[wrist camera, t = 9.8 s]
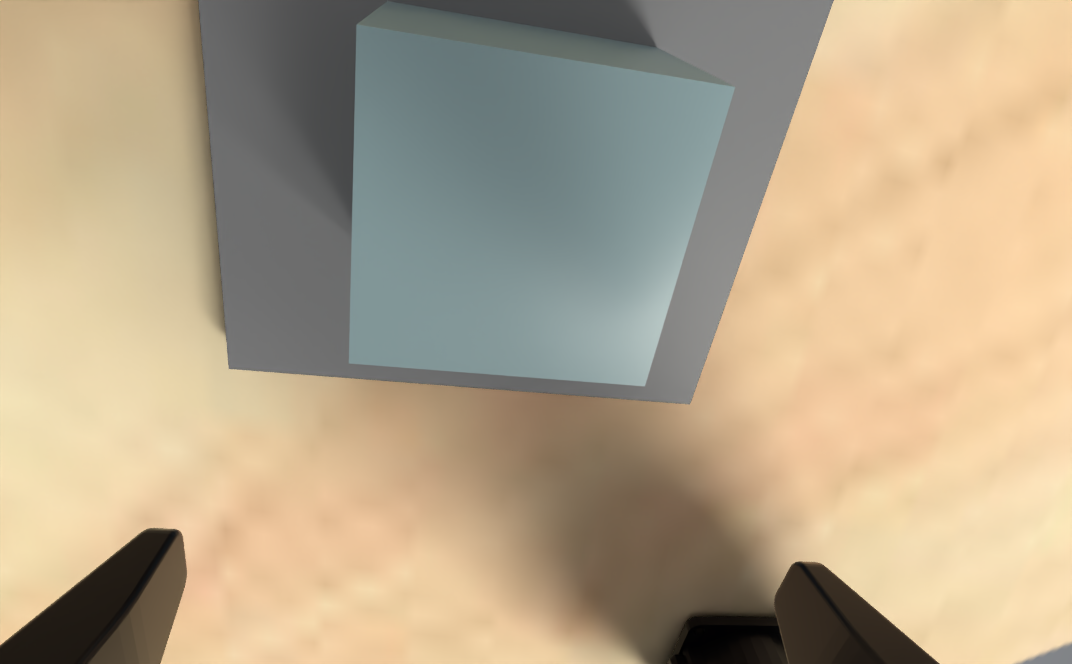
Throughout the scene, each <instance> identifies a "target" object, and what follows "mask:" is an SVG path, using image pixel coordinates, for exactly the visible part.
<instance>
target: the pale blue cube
mask: <svg viewBox="0 0 1072 664" xmlns="http://www.w3.org/2000/svg"><path fill="white" fill-rule="evenodd" d="M734 89H735V87H734V86H732V85H730V84H728V83H726V82H725V81H723V80H721V79H719V78H717V77H715V76H713V75H711V74H709V73H707V72H705V71H703V70H701V69H699V68H697V67H695V66H693V65H691V64H689V63H687V62H685V61H683V60H681V59H679V58H677V57H675V56H673V55H671V54H669V53H667V52H665V51H663V50H661V49H659V48H657V47H651V46H646V45H640V44H634V43H628V42H622V41H617V40H611V39H605V38H599V37H593V36H588V35H582V34H576V33H570V32H564V31H559V30H553V29H547V28H541V27H535V26H530V25H524V24H518V23H512V22H506V21H501V20H495V19H489V18H483V17H477V16H472V15H466V14H460V13H454V12H448V11H443V10H437V9H431V8H425V7H419V6H414V5H408V4H402V3H396V2H390V1H387V2H386V3H384V4H383V5H382V6H380V7H379V8H378V9H376V10H375V11H374V12H372V13H371V14H370V15H368V16H367V17H366V18H364V19H363V20H362V21H360V22H359V23H358V24H357V26H356V70H355V114H354V158H353V202H352V245H351V289H350V333H349V363H350V364H363V365H376V366H389V367H402V368H414V369H427V370H440V371H453V372H466V373H479V374H492V375H505V376H518V377H530V378H543V379H556V380H569V381H582V382H595V383H608V384H621V385H633V386H645V384H646V381H647V378H648V374H649V371H650V368H651V364H652V361H653V358H654V354H655V351H656V348H657V344H658V341H659V338H660V335H661V331H662V328H663V325H664V321H665V318H666V315H667V311H668V308H669V305H670V301H671V298H672V295H673V292H674V288H675V285H676V282H677V278H678V275H679V272H680V268H681V265H682V262H683V258H684V255H685V252H686V248H687V245H688V242H689V239H690V235H691V232H692V229H693V225H694V222H695V219H696V215H697V212H698V209H699V205H700V202H701V199H702V195H703V192H704V189H705V186H706V182H707V179H708V176H709V172H710V169H711V166H712V162H713V159H714V156H715V152H716V149H717V146H718V142H719V139H720V136H721V133H722V129H723V126H724V123H725V119H726V116H727V113H728V109H729V106H730V103H731V99H732V96H733V93H734Z"/></svg>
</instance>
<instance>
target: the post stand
mask: <svg viewBox="0 0 1072 664" xmlns="http://www.w3.org/2000/svg"><path fill="white" fill-rule="evenodd" d="M387 1H390V2H396V3H402V4H408V5H414V6H419V7H425V8H431V9H437V10H443V11H448V12H454V13H460V14H466V15H472V16H477V17H483V18H489V19H495V20H501V21H506V22H512V23H518V24H524V25H530V26H535V27H541V28H547V29H553V30H559V31H564V32H570V33H576V34H582V35H588V36H593V37H599V38H605V39H611V40H617V41H622V42H628V43H634V44H640V45H646V46H651V47H657V48H659V49H661V50H663V51H665V52H667V53H669V54H671V55H673V56H675V57H677V58H679V59H681V60H683V61H685V62H687V63H689V64H691V65H693V66H695V67H697V68H699V69H701V70H703V71H705V72H707V73H709V74H711V75H713V76H715V77H717V78H719V79H721V80H723V81H725V82H726V83H728V84H730V85H732V86H734V87H735V89H734V93H733V96H732V99H731V103H730V106H729V109H728V113H727V116H726V119H725V123H724V126H723V129H722V133H721V136H720V139H719V142H718V146H717V149H716V152H715V156H714V159H713V162H712V166H711V169H710V172H709V176H708V179H707V182H706V186H705V189H704V192H703V195H702V199H701V202H700V205H699V209H698V212H697V215H696V219H695V222H694V225H693V229H692V232H691V235H690V239H689V242H688V245H687V248H686V252H685V255H684V258H683V262H682V265H681V268H680V272H679V275H678V278H677V282H676V285H675V288H674V292H673V295H672V298H671V301H670V305H669V308H668V311H667V315H666V318H665V321H664V325H663V328H662V331H661V335H660V338H659V341H658V344H657V348H656V351H655V354H654V358H653V361H652V364H651V368H650V371H649V374H648V378H647V381H646V384H645V386H633V385H621V384H608V383H595V382H582V381H569V380H556V379H543V378H530V377H518V376H505V375H492V374H479V373H466V372H453V371H440V370H427V369H414V368H402V367H389V366H376V365H363V364H350V363H349V333H350V289H351V245H352V202H353V158H354V114H355V70H356V26H357V24H358V23H359V22H360V21H362V20H363V19H364V18H366V17H367V16H368V15H370V14H371V13H372V12H374V11H375V10H376V9H378V8H379V7H380V6H382V5H383V4H384V3H386V2H387ZM833 1H834V0H198V2H199V15H200V27H201V39H202V51H203V63H204V75H205V87H206V99H207V111H208V123H209V135H210V147H211V159H212V171H213V184H214V196H215V208H216V220H217V232H218V244H219V256H220V268H221V280H222V292H223V304H224V316H225V328H226V341H227V353H228V365H229V369H239V370H251V371H264V372H277V373H290V374H303V375H316V376H329V377H342V378H355V379H368V380H381V381H394V382H407V383H420V384H433V385H446V386H459V387H472V388H485V389H498V390H511V391H524V392H537V393H550V394H563V395H576V396H589V397H602V398H614V399H627V400H640V401H653V402H666V403H679V404H690V403H691V400H692V397H693V395H694V392H695V389H696V386H697V383H698V381H699V378H700V375H701V372H702V369H703V366H704V364H705V361H706V358H707V355H708V352H709V350H710V347H711V344H712V341H713V338H714V336H715V333H716V330H717V327H718V324H719V321H720V319H721V316H722V313H723V310H724V307H725V305H726V302H727V299H728V296H729V293H730V291H731V288H732V285H733V282H734V279H735V276H736V274H737V271H738V268H739V265H740V262H741V260H742V257H743V254H744V251H745V248H746V245H747V243H748V240H749V237H750V234H751V231H752V229H753V226H754V223H755V220H756V217H757V215H758V212H759V209H760V206H761V203H762V200H763V198H764V195H765V192H766V189H767V186H768V184H769V181H770V178H771V175H772V172H773V170H774V167H775V164H776V161H777V158H778V155H779V153H780V150H781V147H782V144H783V141H784V139H785V136H786V133H787V130H788V127H789V124H790V122H791V119H792V116H793V113H794V110H795V108H796V105H797V102H798V99H799V96H800V94H801V91H802V88H803V85H804V82H805V79H806V77H807V74H808V71H809V68H810V65H811V63H812V60H813V57H814V54H815V51H816V49H817V46H818V43H819V40H820V37H821V34H822V32H823V29H824V26H825V23H826V20H827V18H828V15H829V12H830V9H831V6H832V3H833Z"/></svg>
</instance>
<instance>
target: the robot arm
mask: <svg viewBox="0 0 1072 664" xmlns="http://www.w3.org/2000/svg"><path fill="white" fill-rule="evenodd" d="M186 577H187V567H186V559H185V551H184V542H183V536H182V533H181V532H180V531H179V530H176V529H163V528H149V529H146V530H144V531H143V532H141V533H140V534H139V535H137V536H136V537H135V538H134V539H132V540H131V541H130V542H129V543H127V544H126V545H125V546H124V547H122V548H121V549H120V550H119V551H117V552H116V553H115V554H114V555H112V556H111V557H110V558H109V559H107V560H106V561H105V562H104V563H102V564H101V565H100V566H99V567H97V568H96V569H95V570H94V571H92V572H91V573H90V574H89V575H87V576H86V577H85V578H84V579H82V580H81V581H80V582H79V583H77V584H76V585H75V586H74V587H72V588H71V589H70V590H69V591H67V592H66V593H65V594H64V595H62V596H61V597H60V598H59V599H57V600H56V601H55V602H54V603H52V604H51V605H50V606H49V607H47V608H46V609H45V610H44V611H42V612H41V613H40V614H39V615H37V616H36V617H35V618H34V619H32V620H31V621H30V622H29V623H27V624H26V625H25V626H24V627H22V628H21V629H20V630H19V631H17V632H16V633H15V634H14V635H12V636H11V637H10V638H9V639H7V640H6V641H5V642H4V643H2V644H1V645H0V664H160V663H161V660H162V657H163V654H164V650H165V647H166V644H167V641H168V638H169V635H170V632H171V629H172V625H173V622H174V619H175V616H176V613H177V610H178V607H179V604H180V600H181V597H182V594H183V591H184V588H185V583H186ZM774 607H775V613H776V617H777V618H762V617H702V616H699V617H694V618H691V619H689V620H688V621H687V622H686V623H685V626H684V628H683V630H682V632H681V635H680V637H679V639H678V641H677V644H676V646H675V648H674V650H673V653H672V655H671V657H670V658H669V660H668V663H667V664H939V663H938V662H937V661H936V660H935V659H933V658H932V657H931V656H930V655H929V654H927V653H926V652H925V651H924V650H923V649H922V648H920V647H919V646H918V645H917V644H916V643H915V642H913V641H912V640H911V639H910V638H909V637H908V636H906V635H905V634H904V633H903V632H902V631H900V630H899V629H898V628H897V627H896V626H895V625H893V624H892V623H891V622H890V621H889V620H888V619H886V618H885V617H884V616H883V615H882V614H881V613H879V612H878V611H877V610H876V609H875V608H873V607H872V606H871V605H870V604H869V603H868V602H866V601H865V600H864V599H863V598H862V597H861V596H859V595H858V594H857V593H856V592H855V591H854V590H852V589H851V588H850V587H849V586H848V585H846V584H845V583H844V582H843V581H842V580H841V579H839V578H838V577H837V576H836V575H835V574H834V573H832V572H831V571H830V570H829V569H828V568H827V567H825V566H824V565H822V564H820V563H816V562H795V563H794V564H792V565H791V567H790V569H789V570H788V572H787V574H786V576H785V578H784V580H783V582H782V583H781V585H780V587H779V589H778V591H777V593H776V595H775V600H774Z"/></svg>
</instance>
